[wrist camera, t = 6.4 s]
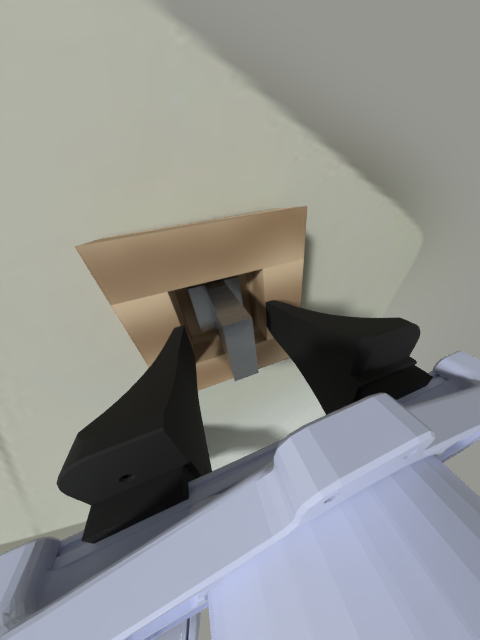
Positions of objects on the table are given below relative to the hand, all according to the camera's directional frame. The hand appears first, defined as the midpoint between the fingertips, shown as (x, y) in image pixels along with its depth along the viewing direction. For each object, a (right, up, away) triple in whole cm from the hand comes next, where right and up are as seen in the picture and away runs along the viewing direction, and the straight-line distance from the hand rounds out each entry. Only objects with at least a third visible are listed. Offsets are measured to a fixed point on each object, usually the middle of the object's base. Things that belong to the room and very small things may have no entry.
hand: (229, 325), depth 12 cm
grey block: (-1, +2, +3) cm, 4 cm away
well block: (-2, +2, +4) cm, 5 cm away
